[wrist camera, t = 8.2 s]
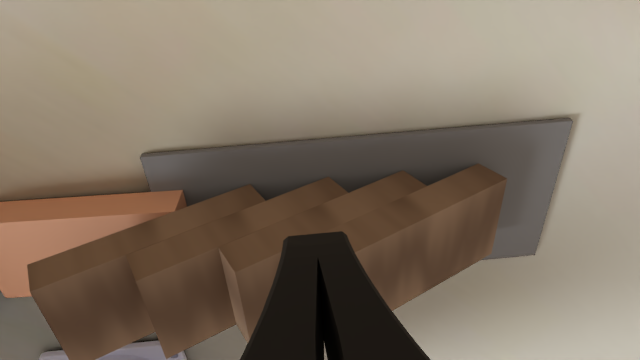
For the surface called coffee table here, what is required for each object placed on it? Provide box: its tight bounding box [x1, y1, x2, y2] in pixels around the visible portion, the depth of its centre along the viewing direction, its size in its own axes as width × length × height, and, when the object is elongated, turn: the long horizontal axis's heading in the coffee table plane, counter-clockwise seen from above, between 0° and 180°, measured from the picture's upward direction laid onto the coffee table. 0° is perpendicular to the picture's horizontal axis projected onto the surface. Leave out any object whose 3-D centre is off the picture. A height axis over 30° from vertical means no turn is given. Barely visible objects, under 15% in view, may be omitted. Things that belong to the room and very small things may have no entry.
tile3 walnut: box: [126, 177, 348, 359], centre depth 19 cm, size 4×2×9 cm
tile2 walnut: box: [218, 170, 427, 343], centre depth 19 cm, size 4×2×9 cm
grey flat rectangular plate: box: [140, 118, 573, 260], centre depth 22 cm, size 8×19×1 cm, turn 93°
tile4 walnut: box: [27, 184, 265, 360], centre depth 19 cm, size 4×2×9 cm
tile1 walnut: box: [323, 163, 507, 311], centre depth 20 cm, size 4×2×9 cm
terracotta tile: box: [0, 190, 187, 298], centre depth 21 cm, size 4×2×9 cm
